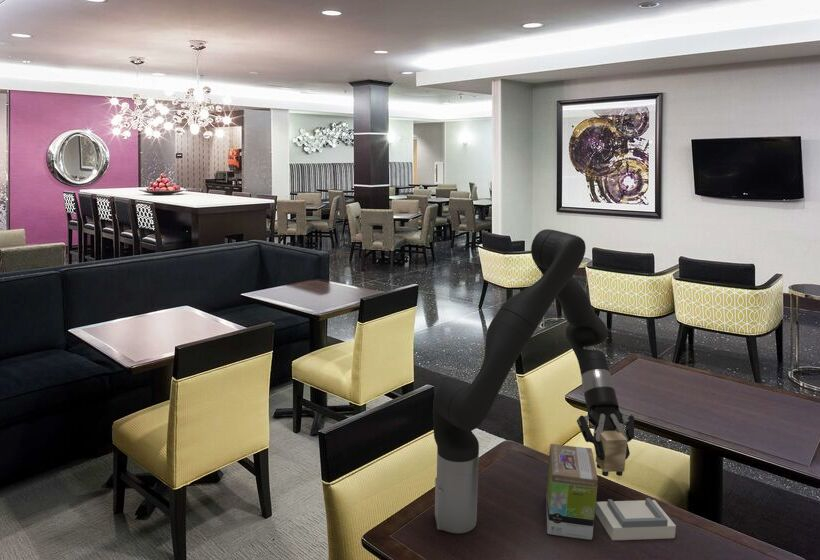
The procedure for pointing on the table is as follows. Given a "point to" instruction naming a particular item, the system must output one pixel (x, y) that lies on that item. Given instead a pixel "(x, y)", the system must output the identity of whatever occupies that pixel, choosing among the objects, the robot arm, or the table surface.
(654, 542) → the table surface
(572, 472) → the tea box
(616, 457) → the tall cardboard box
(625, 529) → the dock
